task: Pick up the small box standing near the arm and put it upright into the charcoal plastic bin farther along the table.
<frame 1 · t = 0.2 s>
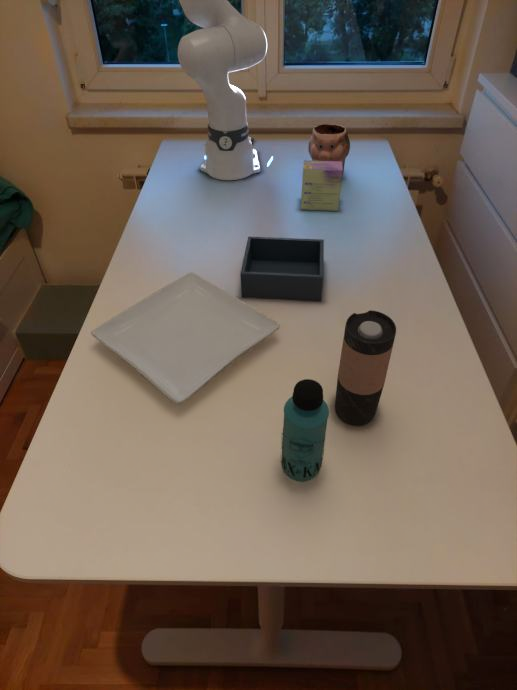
travel mug: (354, 410, 89), on the table
box: (319, 206, 140), on the table
decorative planter: (326, 174, 154), on the table
square plate: (187, 341, 102), on the table
beverage bottle: (300, 471, 80), on the table
bin: (283, 279, 116), on the table
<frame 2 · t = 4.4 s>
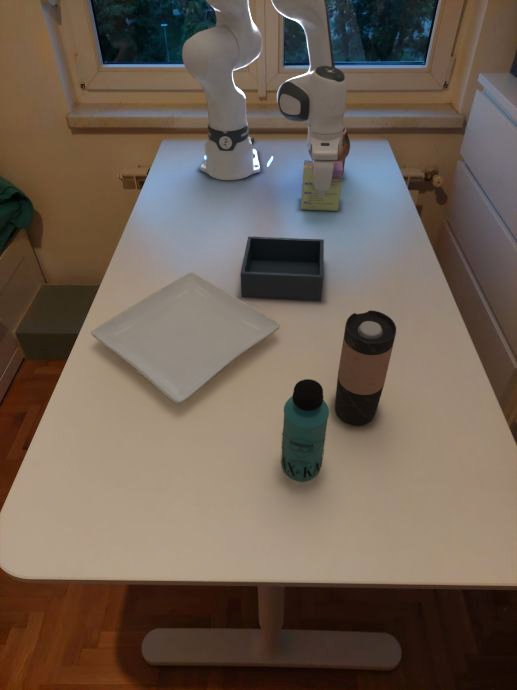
hand: (321, 190, 137), 5 cm above the table, tool pointing down, fingers closed on box, 5 cm apart
box: (319, 206, 140), on the table, touching gripper
everything else where it was.
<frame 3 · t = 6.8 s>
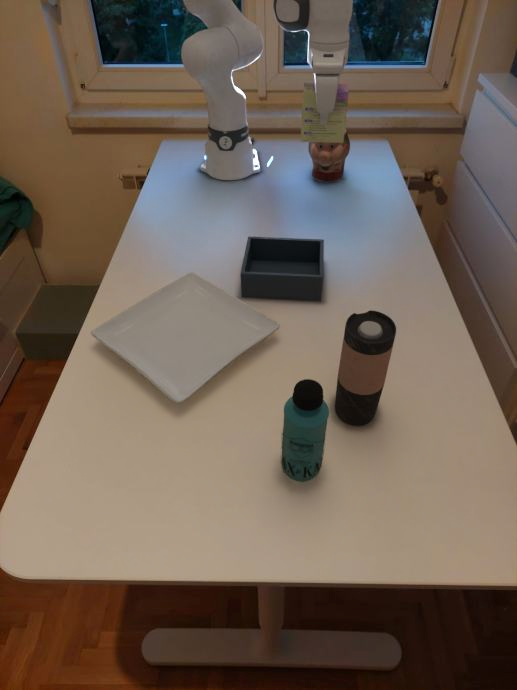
hand: (323, 118, 120), 25 cm above the table, tool pointing down, fingers closed on box, 5 cm apart
box: (321, 139, 123), point 20 cm above the table, touching gripper
everything else where it was.
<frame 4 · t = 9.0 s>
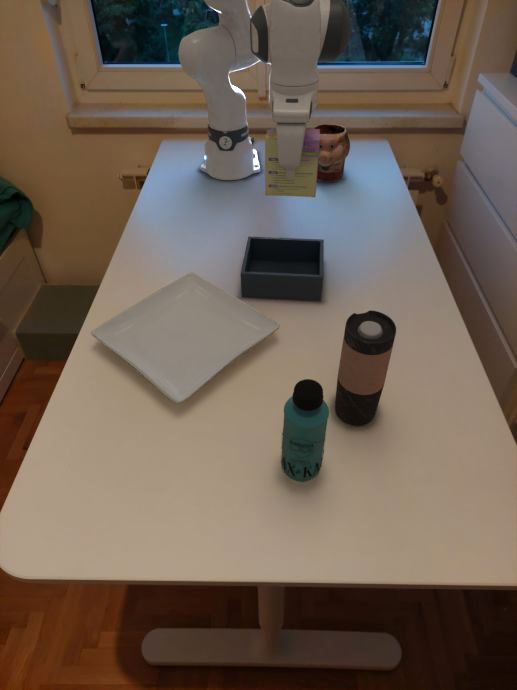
hand: (291, 169, 101), 25 cm above the table, tool pointing down, fingers closed on box, 5 cm apart
box: (290, 191, 104), point 20 cm above the table, touching gripper
everything else where it was.
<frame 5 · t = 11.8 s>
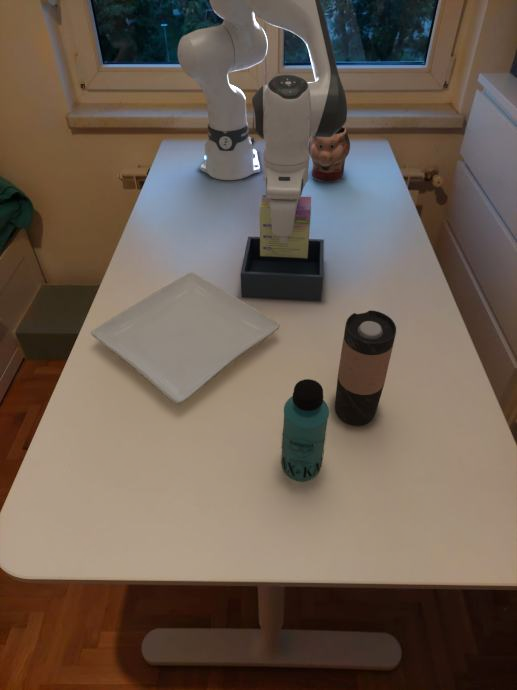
hand: (284, 232, 107), 12 cm above the table, tool pointing down, fingers closed on box, 5 cm apart
box: (284, 251, 111), point 8 cm above the table, touching gripper
everything else where it was.
when the fingers open (5 cm above the table, at t = 14.1 s): box stays where it is, resting on bin.
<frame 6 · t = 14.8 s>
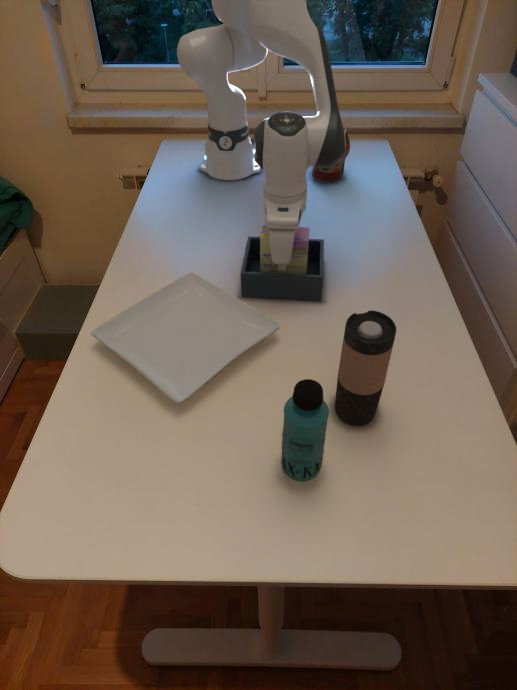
hand: (283, 257, 112), 6 cm above the table, tool pointing down, fingers open, 8 cm apart
box: (283, 277, 116), resting on bin
everything else where it was.
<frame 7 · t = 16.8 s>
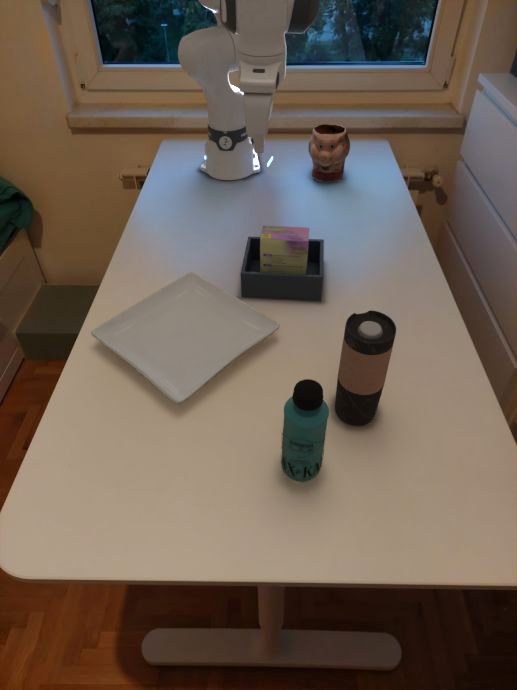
hand: (261, 141, 102), 29 cm above the table, tool pointing down, fingers open, 8 cm apart
nothing on the table moved.
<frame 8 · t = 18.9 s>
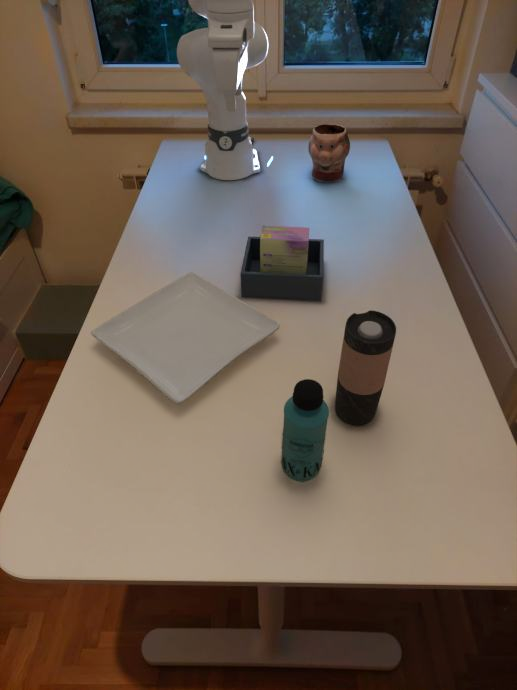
hand: (234, 102, 106), 33 cm above the table, tool pointing down, fingers open, 8 cm apart
nothing on the table moved.
at the end: box inside the target area in the bin (0.1 cm from its centre), point 0.4 cm above the bin's base; box tilted 0°; the gripper is holding nothing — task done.
